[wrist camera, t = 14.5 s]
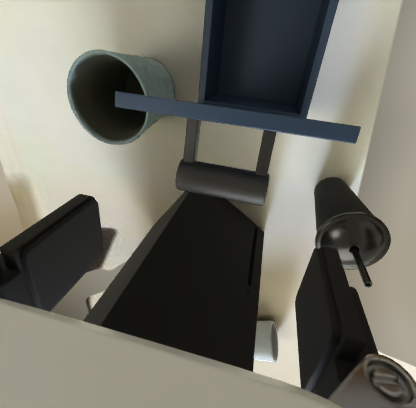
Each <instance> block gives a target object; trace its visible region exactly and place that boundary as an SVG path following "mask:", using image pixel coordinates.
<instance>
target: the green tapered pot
mask: <svg viewBox="0 0 416 408" xmlns="http://www.w3.org/2000/svg"><path fill="white" fill-rule="evenodd" d="M116 91H118V92H125V93H132V94H138V95H145V96H152V97H159V98H166V99H173V100H174V96H175V88H174V83H173V80H172V77H171V75H170V73H169V72H168V70H167V69H166V68H165V67H164V66H163V65H162V64H161V63H160V62H158V61H156V60H154V59H151V58H146V57H139V56H133V55H124V54H120V53H115V52H110V51H105V50H92V51H88V52H86V53H84V54H82V55H81V56H79V57H78V58H77V59H76V60H75V62H74V63H73V65H72V67H71V69H70V71H69V75H68V79H67V92H68V99H69V102H70V105H71V108H72V110H73V112H74V114H75V116H76V118H77V119H78V121H79V122H80V124H81V125H82V126H83V128H84V129H85V130H86V131H87V132H88V133H90V134H91V135H92V136H93V137H95V138H97V139H98V140H100V141H102V142H105V143H108V144H114V145H122V144H127V143H130V142H132V141H134V140H136V139H137V138H138V137H139V136H140V135H141V134H143V133H144V132H145V131H146V130H147V129H148V128H149V127H150V126H151V125H152V124H154V123H155V122H156V121H157V120H158V119H159V118H160V117H162V116H163V115H165V114H159V113H152V112H146V111H139V110H133V109H126V108H120V107H115V92H116Z"/></svg>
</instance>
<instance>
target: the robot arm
mask: <svg viewBox="0 0 416 408" xmlns="http://www.w3.org/2000/svg"><path fill="white" fill-rule="evenodd" d="M0 251H1V254H0V408H416V382H415V380H414V379H413V378H412V376H411V375H410V374H409V373H408V372H407V371H406V370H405V369H404V368H403V367H402V366H401V365H400V364H398V363H397V362H395V361H394V360H392V359H390V358H388V357H386V356H383V355H379V354H378V351H377V348H376V345H375V342H374V339H373V336H372V334H371V331H370V328H369V325H368V322H367V319H366V316H365V313H364V310H363V307H362V304H361V301H360V299H359V295H358V292H357V291H356V289H355V288H353V287H349V284H348V281H347V278H346V275H345V271H344V268H343V265H342V262H341V259H340V255H339V252H338V250H337V249H336V248H331V247H326V246H320V248H319V249H318V248H315V249H314V251H313V253H312V256H311V259H310V261H309V264H308V267H307V269H306V272H305V275H304V277H303V280H302V282H301V285H300V288H299V290H298V293H297V296H296V301H295V308H296V322H297V337H298V351H299V366H300V380H301V388H299V387H297V386H294V385H291V384H288V383H286V382H283V381H280V380H277V379H273V378H270V377H267V376H264V375H261V374H258V373H255V372H251V371H248V370H245V369H242V368H239V367H236V366H232V365H229V364H226V363H222V362H219V361H216V360H212V359H209V358H206V357H202V356H199V355H196V354H192V353H189V352H186V351H182V350H179V349H176V348H172V347H169V346H166V345H162V344H159V343H155V342H152V341H149V340H145V339H142V338H138V337H135V336H132V335H128V334H125V333H121V332H118V331H115V330H111V329H108V328H104V327H101V326H97V325H94V324H91V323H87V322H84V321H80V320H77V319H73V318H70V317H66V316H63V315H59V314H56V313H52V312H50V311H51V310H52V309H53V308H54V307H55V306H56V305H57V304H58V303H59V301H60V300H61V299H62V298H63V297H64V296H65V295H66V294H67V293H68V292H69V290H70V289H71V288H72V287H73V286H74V285H75V284H76V283H77V282H78V280H79V279H80V278H81V277H82V276H83V275H84V274H85V273H86V272H87V271H88V270H89V268H90V267H91V266H92V265H93V264H94V263H95V262H96V261H97V260H98V259H99V257H100V256H101V255H102V253H103V240H102V232H101V224H100V215H99V207H98V202H97V201H96V200H95V198H94V197H92V196H88V195H83V194H79V195H77V196H76V197H74V198H73V199H71V200H70V201H68V202H67V203H65V204H64V205H62V206H61V207H59V208H58V209H56V210H55V211H53V212H52V213H50V214H49V215H47V216H46V217H44V218H43V219H41V220H40V221H38V222H37V223H35V224H34V225H32V226H31V227H29V228H28V229H26V230H25V231H23V232H22V233H21V234H19V235H18V236H16V237H15V238H13V239H12V240H10V241H9V242H7V243H6V244H4V245H3V246H1V247H0Z"/></svg>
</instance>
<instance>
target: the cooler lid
mask: <svg viewBox="0 0 416 408" xmlns="http://www.w3.org/2000/svg"><path fill="white" fill-rule="evenodd" d="M115 107H120V108H126V109H133V110H139V111H146V112H152V113H159V114H165V115H172V116H178V117H185V118H188V119H187V128H186V138H185V148H184V157H183V159H182V160H181V162H180V163H179V166H178V169H177V174H176V187H177V189H178V190H183V191H188V192H193V193H198V194H203V195H208V196H213V197H218V198H224V199H229V200H234V201H239V202H244V203H249V204H254V205H259V206H263V204H264V201H265V197H266V192H267V187H268V182H269V174H267V173H268V168H269V164H270V159H271V155H272V150H273V146H274V141H275V136H276V132H282V133H288V134H295V135H301V136H308V137H314V138H320V139H327V140H333V141H340V142H346V143H353V144H355V143H356V141H357V138H358V135H359V132H360V129H361V127H359V126H352V125H345V124H338V123H331V122H325V121H318V120H311V119H304V118H297V117H290V116H283V115H276V114H269V113H263V112H256V111H249V110H242V109H235V108H228V107H221V106H214V105H207V104H200V103H194V102H187V101H180V100H173V99H166V98H159V97H152V96H145V95H138V94H132V93H125V92H118V91H116V92H115ZM201 120H204V121H210V122H217V123H223V124H230V125H236V126H243V127H249V128H256V129H262V130H264V132H263V137H262V142H261V147H260V152H259V157H258V162H257V167H256V172H254V171H249V170H243V169H237V168H232V167H226V166H221V165H215V164H209V163H204V162H198V161H196V157H197V149H198V141H199V133H200V125H201Z"/></svg>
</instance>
